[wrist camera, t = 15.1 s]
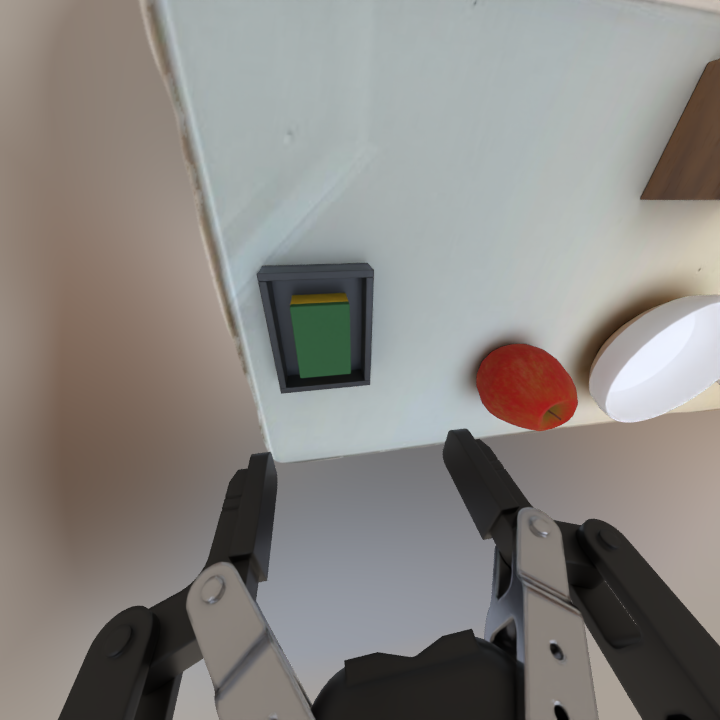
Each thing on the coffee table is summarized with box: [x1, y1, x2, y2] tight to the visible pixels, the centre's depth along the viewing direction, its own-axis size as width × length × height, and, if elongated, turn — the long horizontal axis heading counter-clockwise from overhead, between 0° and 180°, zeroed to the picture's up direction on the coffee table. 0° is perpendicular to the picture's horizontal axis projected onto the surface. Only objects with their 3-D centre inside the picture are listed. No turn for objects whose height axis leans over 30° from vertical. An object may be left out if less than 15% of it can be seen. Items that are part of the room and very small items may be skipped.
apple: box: [476, 344, 578, 431], centre depth 32 cm, size 10×10×10 cm
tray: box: [257, 263, 374, 393], centre depth 28 cm, size 13×10×3 cm
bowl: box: [589, 295, 720, 422], centre depth 36 cm, size 20×20×6 cm
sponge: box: [290, 293, 351, 378], centre depth 27 cm, size 8×6×4 cm
